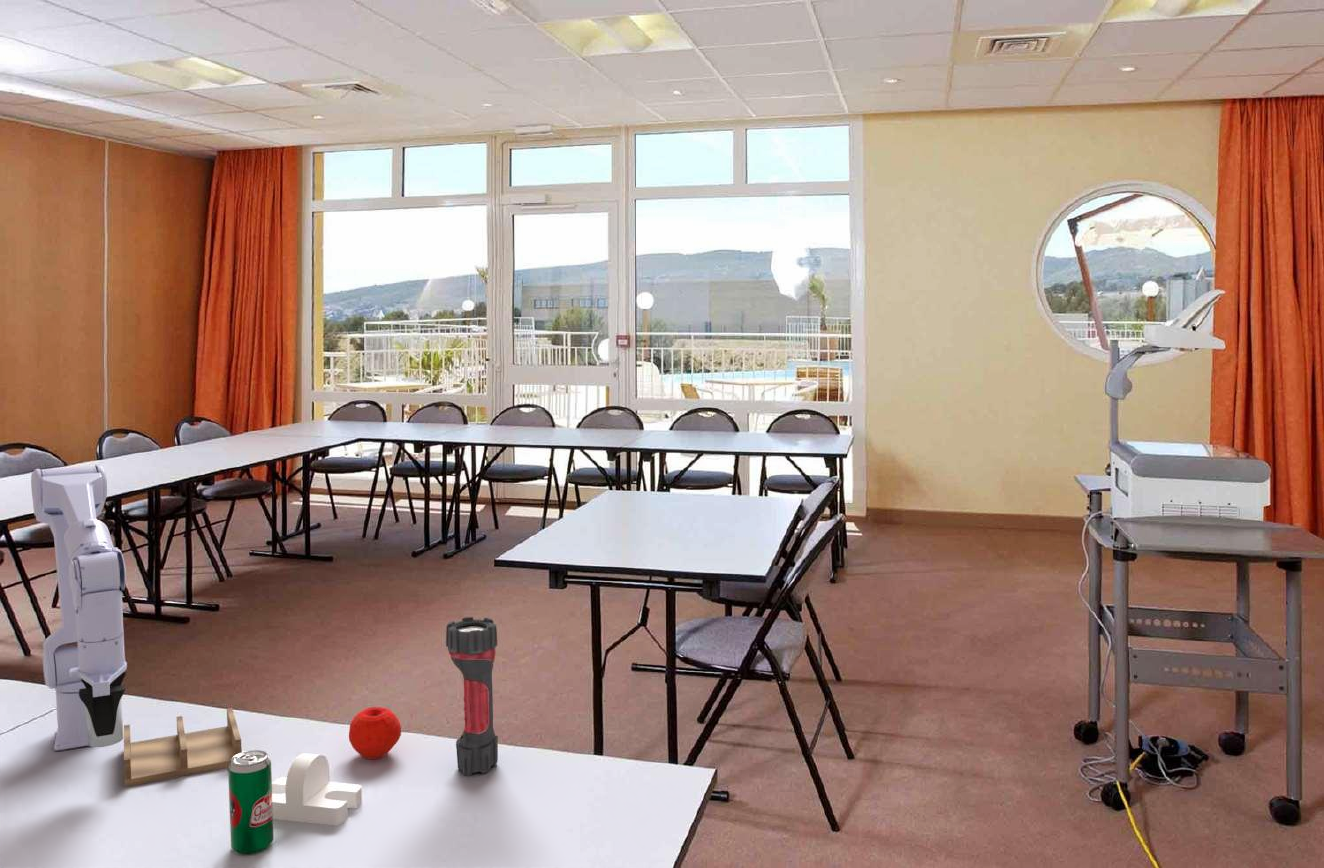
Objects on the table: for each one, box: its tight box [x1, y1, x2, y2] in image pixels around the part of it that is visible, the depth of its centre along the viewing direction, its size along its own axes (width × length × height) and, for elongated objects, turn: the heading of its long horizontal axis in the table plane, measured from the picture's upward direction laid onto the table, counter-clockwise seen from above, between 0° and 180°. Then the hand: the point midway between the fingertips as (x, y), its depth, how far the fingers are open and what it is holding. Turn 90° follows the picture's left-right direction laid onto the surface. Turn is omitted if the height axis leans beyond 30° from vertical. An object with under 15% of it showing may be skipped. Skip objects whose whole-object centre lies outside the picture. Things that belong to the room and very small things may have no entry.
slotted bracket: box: [272, 752, 363, 826], centre depth 134 cm, size 13×7×8 cm, turn 80°
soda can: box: [227, 749, 275, 856], centre depth 124 cm, size 5×5×12 cm
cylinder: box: [86, 699, 124, 748], centre depth 139 cm, size 4×4×6 cm
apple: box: [348, 706, 402, 760], centre depth 151 cm, size 8×8×7 cm
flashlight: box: [445, 616, 499, 777], centre depth 145 cm, size 8×8×23 cm
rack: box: [123, 707, 243, 787], centre depth 150 cm, size 14×16×4 cm
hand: (105, 728), depth 139 cm, fingers closed on cylinder, 4 cm apart
